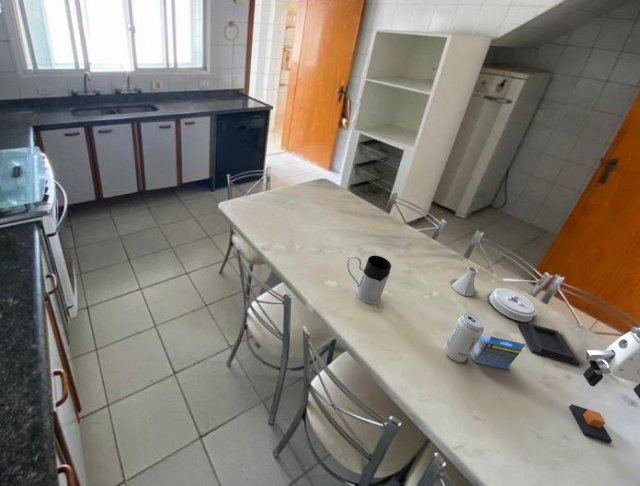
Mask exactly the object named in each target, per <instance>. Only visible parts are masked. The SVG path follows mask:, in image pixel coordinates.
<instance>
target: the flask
mask: <svg viewBox="0 0 640 486" xmlns="http://www.w3.org/2000/svg"><path fill="white" fill-rule="evenodd" d="M477 273H479V270H478V269H477V268H476V267H474V266H467V269H466V272H465V273H464V274H463V275H462V276H461V277H459V278H458V279H457V280H456V281H454V282H453V283H452V284H451V287H452V288H453V290H454V291H455V292H456V293H458V294H460V295H462V296H464V297H472V296H473V295H474V294H475V278H476V275H477Z"/></svg>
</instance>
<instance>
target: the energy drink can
mask: <svg viewBox="0 0 640 486" xmlns="http://www.w3.org/2000/svg"><path fill="white" fill-rule="evenodd" d="M484 325H485V324H484V322H483V320H482V319H481V318H480V317H479V316H477V315H475V314H472V313H464V314H463V315H461V316H460V317H458V320H457V321H456V323H455V325H454V327H453V328H452V330H451V332H450V334H449V335H448V337H447V339H446V341H445V343H444V345H443V351H444V353H445V354H446V356H447V357H448V358H449V359H451V360H453V361H454V362H457V363H464V362H466V360H467V359H468V358H469V356H470V355H471V354H470V353H471V351H472V349H473V348H474V346H475V344H476V343H477V341H478V340H479V338H480V336H482V334H483V333H484V331H485V330H484Z"/></svg>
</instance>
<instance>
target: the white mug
mask: <svg viewBox="0 0 640 486" xmlns="http://www.w3.org/2000/svg"><path fill="white" fill-rule="evenodd" d="M352 258H353V259H357V260H358V262H359V266H358V267H359V270H360V271H362V274H361V279H360V280H359V282H358V280H357V278H356V277H355V276H354V275H353V273H352V272H351V270H350V266H349V263H350V259H352ZM346 266H347V267H346V268H347V271H348V273H349V275H350V276H351V278H352V279H353V281H355V283H356V285H357V288H356V289H355V295H356V297H357V298H358V299H359V300H360V301H362V302H363V303H365V304H368V305H373V306H374V305H378V304H380V303H381V302H382V295H383V292H384V289H385V287H386V284H387V281H388V279H389V276H390V273H391V270H392V264H391V262H390V261H389V260H388V259H387V258H385V257H383V256H380V255H370V256H369V257H368V258H367V261H366V264H365V267H364V269H363V268H362V267H361V266H362V260H361V259H360V257H358V256H355V255H352V256H349V258H348V259H347V263H346Z"/></svg>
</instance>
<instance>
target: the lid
mask: <svg viewBox="0 0 640 486" xmlns="http://www.w3.org/2000/svg"><path fill="white" fill-rule="evenodd" d="M488 299H489V302H490V304H491V305H492V307H493V308H495V310H497V311H498V312H499V313H501V314H502V315H504V316H506V317H508V318H510V319H512V320H515V321H518V322H524V323H528V322H531V321H532V320H533V317H534V316H535V315H536V314H537V309H536V307H535V305H534V304H533V302H531V301H530V299H529V298H527V297H526V296H524V295H523V294H521V293H519V292H517V291H515V290H513V289H509V288H503V287H501V288H500V287H499V288H498V287H497V288H494V289H493V290H492V292H491V294H490V295H489V297H488Z"/></svg>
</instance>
